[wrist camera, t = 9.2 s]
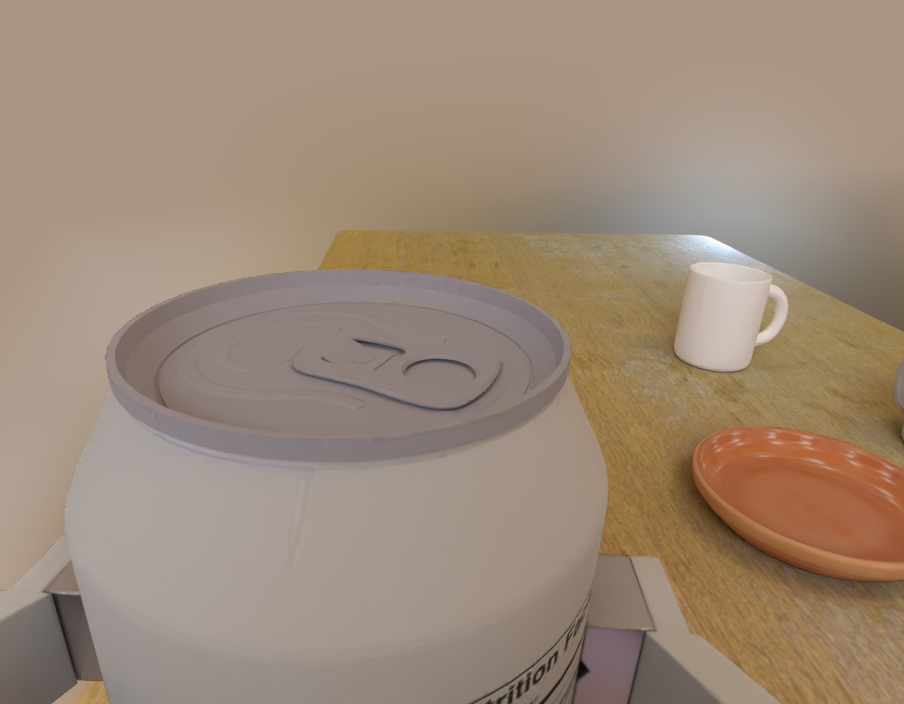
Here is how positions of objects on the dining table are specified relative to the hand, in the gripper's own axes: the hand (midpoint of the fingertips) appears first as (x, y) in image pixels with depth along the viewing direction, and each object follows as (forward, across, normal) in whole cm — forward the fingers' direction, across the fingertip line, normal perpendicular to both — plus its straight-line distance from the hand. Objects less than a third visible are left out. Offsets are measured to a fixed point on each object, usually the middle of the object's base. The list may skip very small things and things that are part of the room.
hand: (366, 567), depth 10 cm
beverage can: (-1, 0, +7) cm, 7 cm away
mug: (+55, -32, +18) cm, 66 cm away
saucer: (+27, -26, +18) cm, 42 cm away
